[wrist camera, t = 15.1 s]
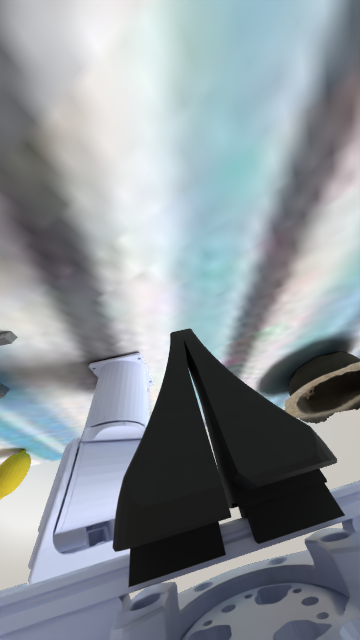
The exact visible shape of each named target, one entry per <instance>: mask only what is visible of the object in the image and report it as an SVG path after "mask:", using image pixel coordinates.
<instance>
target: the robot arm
mask: <svg viewBox="0 0 360 640" xmlns="http://www.w3.org/2000/svg"><path fill="white" fill-rule="evenodd" d="M89 368H90V369H91V370H92V371H93V373H94V374H95V375H96V376H97V377H98V382H97V385H96V389H95V392H94V396H93V400H92V403H91V407H90V410H89V414H88V417H87V421H86V425H85V428H84V431H83V434H82V436H81V439H80V438H74V439H73V440H72V442H70V443H69V444H68V445H67V446H66V448H65V450H64V453H63V456H62V459H61V462H60V465H59V468H58V471H57V474H56V477H55V480H54V483H53V486H52V489H51V492H50V495H49V498H48V501H47V504H46V507H45V510H44V513H43V516H42V519H41V522H40V525H39V528H38V532H39V535H38V537H37V540H36V543H35V546H34V549H33V553H32V555H31V559H30V562H29V566H28V567H29V569H31V572H30V575H29V579H28V581H29V584H30V585H28V586H27V583H24V584H21V585H17V586H14V587H11V588H8V589H5V590H2V591H0V640H360V481H357V482H353V483H351V484H347V485H344V486H341V487H338V488H334V489H331V490H329V489H328V488H327V486H326V485H325V483H326V482H327V480H326V478H325V477H324V475H323V474H322V472H321V471H320V468H323V467H326V466H329V465H332V464H335V463H337V458H336V457H335V456H334V455H333V453H332V452H331V451H330V449H329V448H328V447H327V445H326V444H325V443H324V442H323V440H322V439H321V438H320V437H319V436H318V435H317V434H316V433H315V432H314V430H313V429H312V428H311V427H310V426H308V425H307V424H305V423H303V422H302V421H300V420H298V419H297V418H295V417H294V416H292V415H290V414H289V413H287V412H286V411H284V410H283V409H281V408H279V407H278V406H276V405H275V404H273V403H272V402H270V401H269V400H267V399H266V398H264V397H263V396H262V395H260V394H259V393H258V392H256V391H255V390H253V389H252V388H251V387H249V386H248V385H246V384H245V383H244V382H243V381H241V380H240V379H239V378H238V377H236V376H235V375H234V374H233V373H232V372H230V371H229V370H228V369H227V368H226V367H225V366H224V365H222V364H221V363H220V362H219V361H218V360H217V359H216V358H215V357H214V356H213V355H212V354H211V353H210V352H209V351H208V349H207V348H206V347H205V346H204V345H203V344H202V343H201V342H200V340H199V339H198V338H197V337H196V335H195V334H194V332H193V331H192V329H185V330H180V331H176V332H172V333H171V334H170V351H169V357H168V363H167V367H166V371H165V376H164V379H163V383H162V386H161V389H160V392H159V395H158V398H157V401H156V404H155V407H154V409H153V412H152V415H151V417H150V420H149V386H152V385H154V381H153V379H152V377H151V375H150V372H149V370H148V368H147V366H146V363H145V361H144V359H143V357H142V354H141V353H135V354H130V355H126V356H121V357H117V358H112V359H108V360H103V361H99V362H94V363H91V364H89ZM188 368H189V369H188ZM189 371H190V373H191V376H192V379H193V382H194V385H195V387H196V390H197V393H198V396H199V399H200V402H201V405H202V409H203V413H204V417H205V420H206V424H207V428H208V432H209V436H210V439H211V443H212V447H213V451H214V455H215V459H216V462H215V459H214V455H213V452H212V449H211V445H210V442H209V439H208V435H207V432H206V429H205V425H204V422H203V419H202V415H201V412H200V408H199V405H198V402H197V398H196V395H195V391H194V388H193V384H192V381H191V377H190V373H189ZM79 440H80V441H79ZM216 463H217V465H216ZM217 467H218V468H217ZM218 471H219V472H218ZM235 507H239V510H240V513H241V517H242V518H240V519H237V520H233V521H230V522H227V523H224V524H221V525H219V522H218V521H221V520H224V519H227V518H231V513H230V510H229V508H235ZM340 522H342V525H343V529H337V528H328V529H322V528H325V527H328V526H331V525H334V524H337V523H340ZM319 529H322V530H319ZM316 530H319V531H317V532H315V533H314V534H312V535H311V536H310V537H308V538H306V539H305V544H306V546H307V549H308V550H306V551H302V552H298V553H293V554H289V555H285V556H280V557H276V558H272V559H267V560H263V561H259V562H255V563H252V564H248V565H245V566H242V567H239V568H236V569H233V570H231V571H228V572H225V573H223V574H220V575H218V576H216V577H213V578H211V579H209V580H207V581H205V582H202V583H200V584H198V585H196V586H194V587H191V588H189V589H187V590H185V591H183V592H181V593H177V585H176V583H175V582H169V583H161V582H164V581H167V580H170V579H173V578H176V577H179V576H182V575H185V574H188V573H191V572H194V571H197V570H200V569H203V568H206V567H209V566H212V565H215V564H218V563H221V562H224V561H227V560H230V559H233V558H236V557H239V556H242V555H245V554H248V553H251V552H254V551H257V550H259V549H262V548H266V547H269V546H272V545H275V544H277V543H280V542H283V541H286V540H290V539H293V538H296V537H298V536H302V535H305V534H308V533H310V532H314V531H316ZM146 587H147V588H146ZM143 588H145V589H144V590H143V591H141V592H140V593H139V594H138V595H136V596H135V597H134V598H133V599H132V600H131V599H130V596H129V593H131V592H134V591H137V590H140V589H143Z"/></svg>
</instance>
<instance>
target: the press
mask: <svg viewBox="0 0 360 640" xmlns="http://www.w3.org/2000/svg"><path fill="white" fill-rule="evenodd" d="M16 338H17V337H16V336H15V335H14V334H13V333H12V332H11V331H10V332H5V333H0V346H1V345H6V344H11V343H12V342H13V341H14V340H15V339H16ZM9 390H10V389H8V388H7V387H5V386H3V385H2V384H0V398H2V397H4V396H5V395H6V394H7V392H8V391H9Z"/></svg>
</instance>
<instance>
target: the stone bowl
mask: <svg viewBox="0 0 360 640" xmlns="http://www.w3.org/2000/svg"><path fill="white" fill-rule="evenodd" d="M289 394H290V398H289V399H288V400H286V402H285V411H286V412H287V413H289V414H290V415H292V416H294V417H295V418H300V420H302V421H305V422H307V423H308V422H310V423H320V422H322V421H323V422H324V421H326V420H327V419H326V418H329V416H331V415H333V414H334V413H335V412H341V411H347V410H353V409H356V410H358V409H359V408H360V359H359V358H357V357H355V356H354V355H352V354H349V353H346V352H336V353H335V354H329V355H324V356H317V357H315V358H313V359H312V360H311V361H310V362H308V363H306V364H305V365H303V366H301V367H300V368H298V369H297V370H296V371H295V374H294V376H293V377H292V379H291V381H290V383H289Z"/></svg>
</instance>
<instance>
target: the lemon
mask: <svg viewBox="0 0 360 640" xmlns="http://www.w3.org/2000/svg"><path fill="white" fill-rule="evenodd" d="M30 464H31V458H30V455H29V454H27V453H26V451H25V450H21V451H20V452H18V453H17V454H14V455H12V456H10V457H9V458H8V459H6V460H5V461H4V462H3V463H2V464H1V465H0V499H2V498H3V497H4V496H6V495H8V494H10V493H11V492H13V491H14V490H15V489H16V488H17V487H18V486H19V485H20V483H21V482H22V481H23V479H24V477H25V476H26V474H27V472H28V470H29V467H30Z"/></svg>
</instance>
